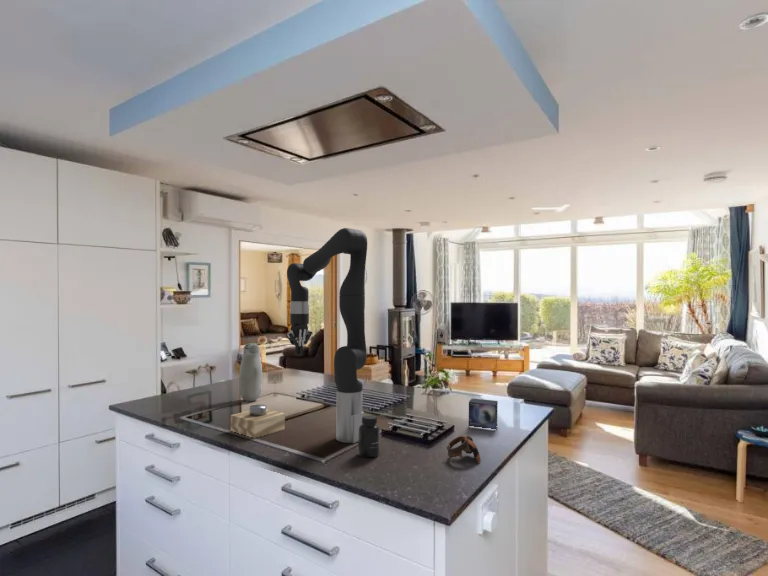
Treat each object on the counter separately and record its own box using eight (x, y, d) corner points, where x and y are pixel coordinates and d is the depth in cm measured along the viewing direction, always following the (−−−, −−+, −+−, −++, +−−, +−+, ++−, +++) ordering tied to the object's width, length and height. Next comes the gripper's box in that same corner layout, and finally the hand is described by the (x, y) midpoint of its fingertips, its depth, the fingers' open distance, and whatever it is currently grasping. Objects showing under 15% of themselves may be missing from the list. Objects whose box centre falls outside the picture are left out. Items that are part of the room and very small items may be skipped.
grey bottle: (235, 401, 208) (236, 343, 209) (252, 397, 217) (253, 341, 217) (248, 404, 203) (249, 344, 203) (265, 400, 211) (266, 342, 212)
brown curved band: (480, 469, 129) (467, 445, 129) (453, 477, 133) (440, 454, 132) (486, 446, 140) (473, 425, 139) (460, 455, 144) (448, 433, 143)
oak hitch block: (284, 429, 165) (284, 413, 165) (254, 438, 153) (254, 421, 153) (260, 422, 173) (261, 407, 173) (230, 431, 161) (230, 415, 162)
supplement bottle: (376, 459, 135) (377, 420, 135) (355, 457, 136) (356, 419, 136) (381, 451, 141) (381, 414, 142) (361, 450, 143) (361, 413, 143)
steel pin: (269, 428, 164) (269, 406, 164) (256, 432, 159) (256, 409, 159) (258, 425, 167) (259, 403, 167) (245, 429, 162) (246, 406, 162)
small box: (467, 428, 168) (467, 401, 168) (471, 424, 174) (471, 397, 174) (495, 431, 164) (495, 404, 164) (497, 427, 170) (497, 400, 170)
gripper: (293, 313, 168) (293, 357, 168) (317, 312, 179) (317, 354, 178) (280, 312, 172) (280, 356, 172) (304, 312, 183) (304, 353, 183)
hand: (299, 355), depth 175 cm, fingers closed
